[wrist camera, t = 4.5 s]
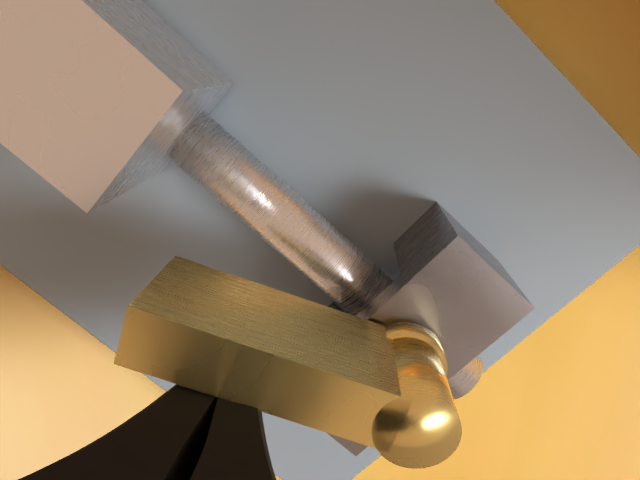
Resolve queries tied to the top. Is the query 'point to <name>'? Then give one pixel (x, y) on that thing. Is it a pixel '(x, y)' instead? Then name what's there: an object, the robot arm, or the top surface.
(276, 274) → the board
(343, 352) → the ball knob lever
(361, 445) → the grey block
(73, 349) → the top surface
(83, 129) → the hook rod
